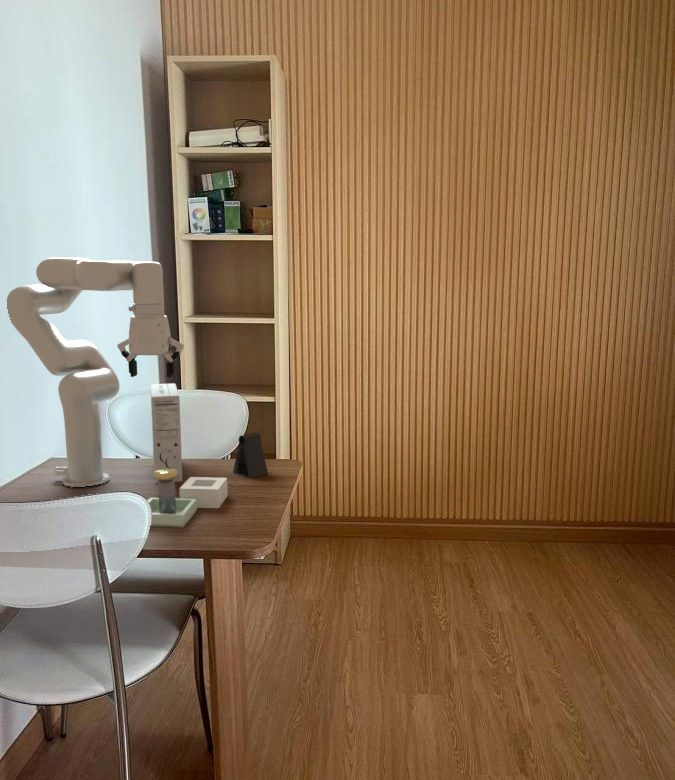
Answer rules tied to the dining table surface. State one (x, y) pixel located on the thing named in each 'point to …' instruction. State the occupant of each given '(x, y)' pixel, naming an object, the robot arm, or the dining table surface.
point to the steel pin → (166, 490)
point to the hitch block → (205, 491)
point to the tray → (180, 519)
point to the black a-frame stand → (250, 457)
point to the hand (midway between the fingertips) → (152, 376)
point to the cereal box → (166, 428)
